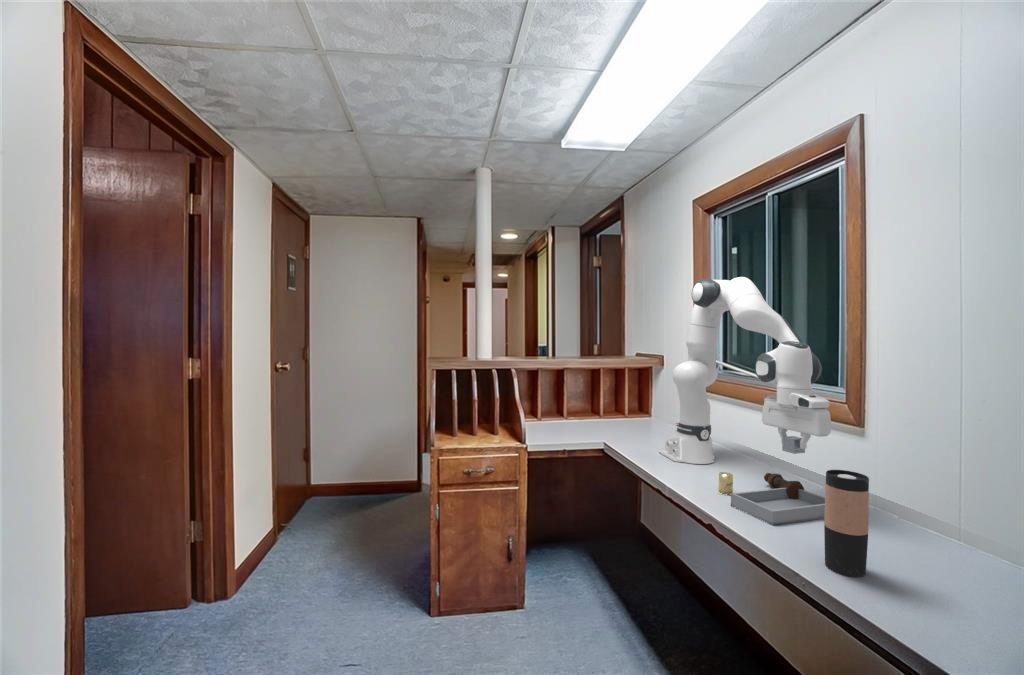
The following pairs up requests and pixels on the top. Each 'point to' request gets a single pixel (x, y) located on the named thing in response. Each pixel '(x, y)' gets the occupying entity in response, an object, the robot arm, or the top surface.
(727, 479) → the brass cylinder
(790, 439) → the steel block
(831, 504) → the travel mug
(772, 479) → the bolt
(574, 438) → the top surface
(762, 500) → the parts tray
